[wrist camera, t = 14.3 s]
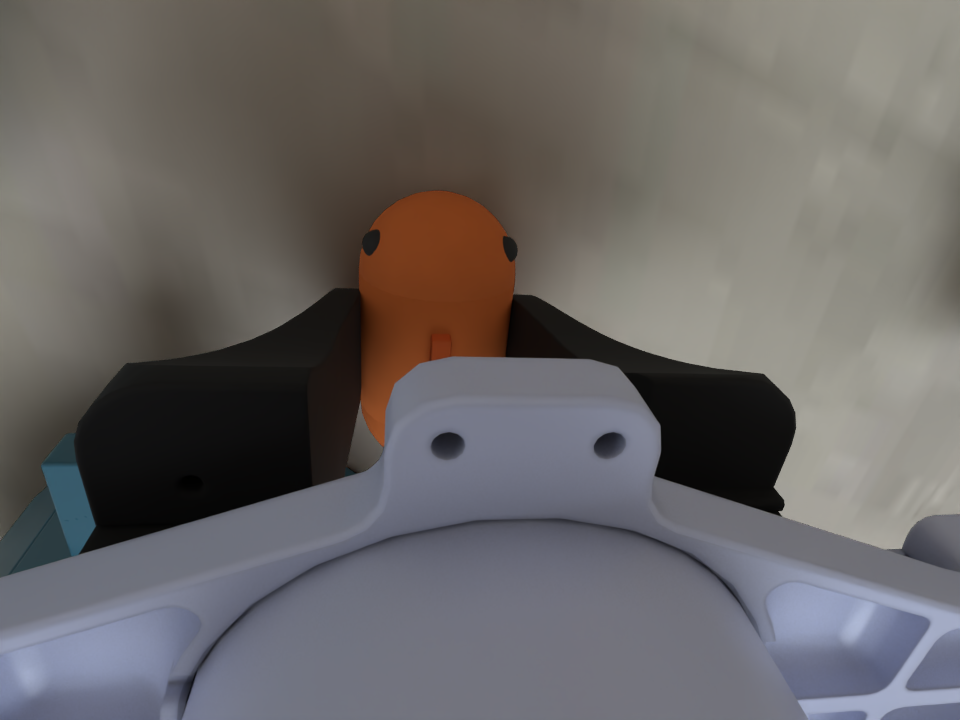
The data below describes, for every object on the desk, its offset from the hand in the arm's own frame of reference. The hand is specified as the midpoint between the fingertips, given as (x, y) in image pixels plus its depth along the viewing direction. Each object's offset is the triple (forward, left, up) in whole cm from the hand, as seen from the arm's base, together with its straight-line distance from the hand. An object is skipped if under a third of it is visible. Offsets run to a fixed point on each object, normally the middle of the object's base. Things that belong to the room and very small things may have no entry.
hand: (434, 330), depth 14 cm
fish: (0, 0, -1) cm, 1 cm away
